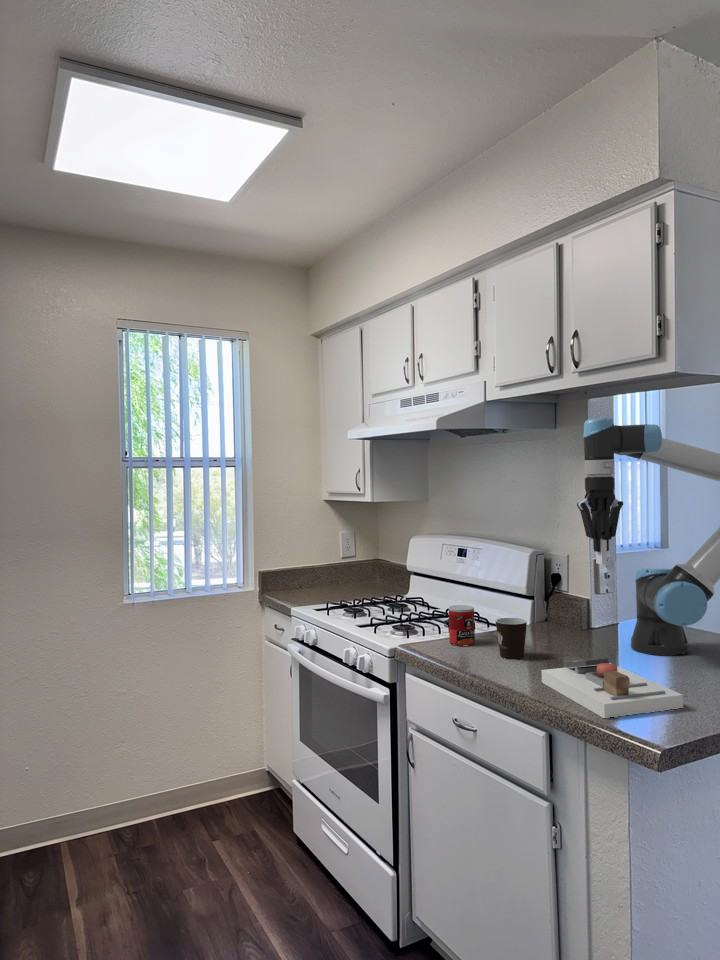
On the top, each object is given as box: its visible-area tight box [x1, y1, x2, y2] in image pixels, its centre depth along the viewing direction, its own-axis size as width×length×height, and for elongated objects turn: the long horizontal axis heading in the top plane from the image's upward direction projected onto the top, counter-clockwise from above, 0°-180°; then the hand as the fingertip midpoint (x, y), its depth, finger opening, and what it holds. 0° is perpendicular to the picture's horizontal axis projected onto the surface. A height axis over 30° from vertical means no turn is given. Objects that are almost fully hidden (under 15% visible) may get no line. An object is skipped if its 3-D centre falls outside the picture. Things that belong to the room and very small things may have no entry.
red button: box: [597, 662, 618, 677], centre depth 154 cm, size 4×4×2 cm
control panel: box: [541, 662, 684, 719], centre depth 154 cm, size 19×26×4 cm
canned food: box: [448, 604, 476, 646], centre depth 205 cm, size 8×8×11 cm
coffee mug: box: [495, 617, 528, 660], centre depth 190 cm, size 12×9×10 cm
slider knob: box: [604, 671, 629, 696], centre depth 146 cm, size 3×4×4 cm
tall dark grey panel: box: [565, 657, 610, 668], centre depth 162 cm, size 6×9×1 cm, turn 14°
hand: (601, 563), depth 181 cm, fingers closed
